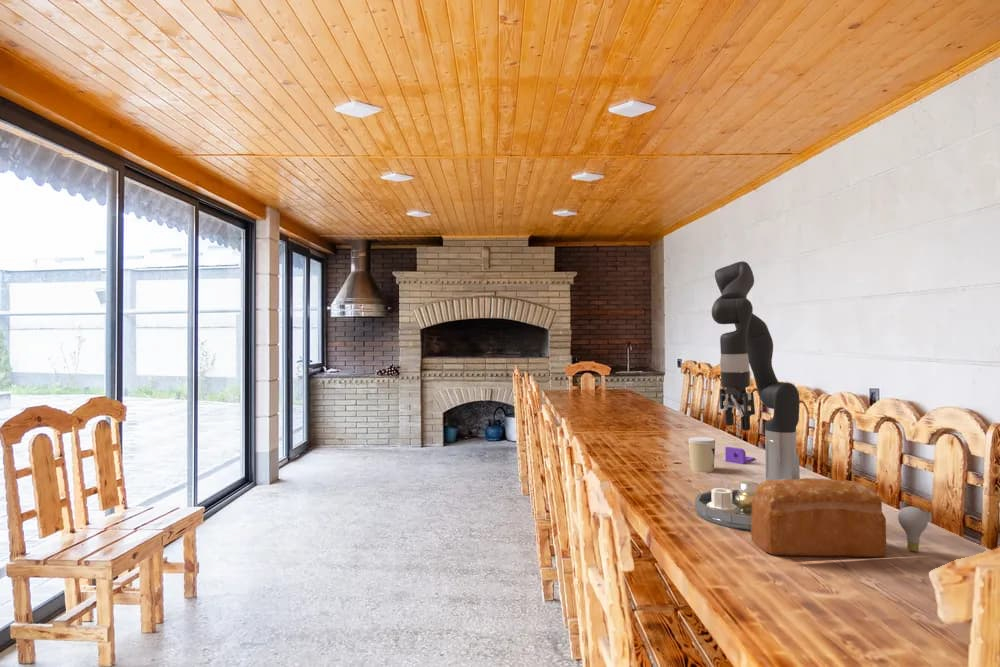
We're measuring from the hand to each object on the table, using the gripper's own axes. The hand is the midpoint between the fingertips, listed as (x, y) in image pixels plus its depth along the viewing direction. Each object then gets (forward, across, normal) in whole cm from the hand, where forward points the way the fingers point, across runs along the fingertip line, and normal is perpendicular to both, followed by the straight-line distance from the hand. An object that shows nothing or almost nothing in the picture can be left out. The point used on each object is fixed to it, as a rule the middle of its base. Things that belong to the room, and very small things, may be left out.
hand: (737, 427), depth 160 cm
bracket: (+26, -58, +33) cm, 71 cm away
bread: (+24, +29, +2) cm, 37 cm away
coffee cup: (+24, -46, +11) cm, 53 cm away
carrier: (+23, +4, 0) cm, 24 cm away
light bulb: (+24, +34, +22) cm, 47 cm away
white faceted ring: (+21, +4, -8) cm, 23 cm away
